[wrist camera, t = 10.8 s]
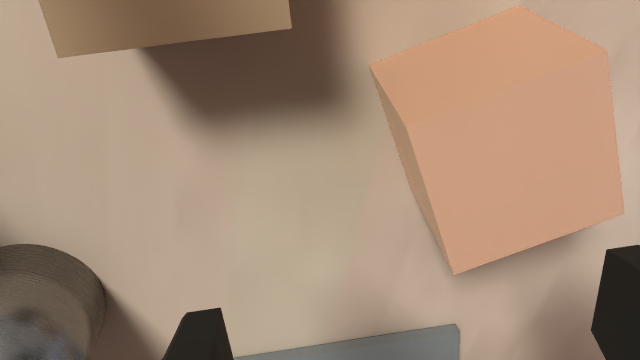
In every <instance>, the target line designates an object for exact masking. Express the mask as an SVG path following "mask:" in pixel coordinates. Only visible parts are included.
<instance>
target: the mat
mask: <svg viewBox="0 0 640 360" xmlns="http://www.w3.org/2000/svg"><path fill="white" fill-rule="evenodd" d="M458 351H459V331H458V329H457V327H456V324H451V325H445V326H439V327H432V328H426V329H419V330H413V331H406V332H400V333H393V334H387V335H380V336H374V337H367V338H361V339H354V340H348V341H342V342H335V343H329V344H322V345H316V346H309V347H303V348H296V349H290V350H283V351H277V352H270V353H264V354H257V355H251V356H245V357H238V358H233V359H234V360H458Z"/></svg>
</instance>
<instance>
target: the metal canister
mask: <svg viewBox="0 0 640 360" xmlns="http://www.w3.org/2000/svg"><path fill="white" fill-rule="evenodd" d="M105 312H106V296H105V292H104V289H103V287H102V285H101V283H100V281H99V279H98V278H97V277H96V275H95V274H94V273H93V272H92V271H91V270H90V269H89V268H88V267H87V266H86V265H85V264H84V263H82V262H81V261H80V260H78V259H76V258H75V257H73V256H71V255H69V254H67V253H65V252H62V251H60V250H57V249H54V248H50V247H46V246H41V245H32V244H17V245H9V246H4V247H0V360H90V357H91V354H92V351H93V349H94V346H95V343H96V340H97V337H98V334H99V331H100V328H101V325H102V322H103V319H104V316H105Z"/></svg>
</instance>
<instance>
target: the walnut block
mask: <svg viewBox="0 0 640 360" xmlns="http://www.w3.org/2000/svg"><path fill="white" fill-rule="evenodd" d="M39 3H40V6H41V9H42V12H43V15H44V18H45V21H46V24H47V27H48V30H49V33H50V36H51V39H52V42H53V45H54V48H55V51H56V54H57V57H58V58H63V57H70V56H78V55H86V54H94V53H102V52H110V51H118V50H126V49H134V48H142V47H149V46H157V45H165V44H173V43H181V42H189V41H197V40H205V39H213V38H221V37H228V36H236V35H244V34H252V33H260V32H268V31H276V30H284V29H292V25H291V17H290V9H289V1H288V0H39Z"/></svg>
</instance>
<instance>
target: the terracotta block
mask: <svg viewBox="0 0 640 360" xmlns="http://www.w3.org/2000/svg"><path fill="white" fill-rule="evenodd" d="M369 67H370V70H371V73H372V76H373V79H374V82H375V85H376V88H377V91H378V94H379V97H380V100H381V103H382V106H383V109H384V112H385V115H386V118H387V121H388V123H389V126H390V129H391V132H392V135H393V138H394V141H395V144H396V147H397V150H398V153H399V156H400V159H401V162H402V165H403V168H404V171H405V174H406V176H407V179H408V182H409V185H410V188H411V191H412V193H413V195H414V197H415V199H416V201H417V203H418V205H419V207H420V209H421V211H422V213H423V215H424V217H425V219H426V221H427V223H428V225H429V227H430V229H431V231H432V233H433V235H434V237H435V239H436V241H437V243H438V245H439V247H440V249H441V251H442V253H443V255H444V257H445V259H446V261H447V263H448V265H449V267H450V269H451V270H452V272H453V274H454V275H456V274H458V273H461V272H464V271H467V270H470V269H472V268H475V267H478V266H481V265H483V264H486V263H489V262H492V261H495V260H497V259H500V258H503V257H506V256H509V255H511V254H514V253H517V252H520V251H522V250H525V249H528V248H531V247H534V246H536V245H539V244H542V243H545V242H547V241H550V240H553V239H556V238H559V237H561V236H564V235H567V234H570V233H572V232H575V231H578V230H581V229H584V228H586V227H589V226H592V225H595V224H598V223H600V222H603V221H606V220H609V219H611V218H614V217H617V216H620V215H623V214H624V205H623V196H622V186H621V177H620V168H619V158H618V149H617V139H616V130H615V121H614V111H613V102H612V93H611V83H610V74H609V65H608V55H607V50H606V49H604V48H602V47H600V46H598V45H596V44H594V43H592V42H590V41H588V40H586V39H585V38H583V37H581V36H579V35H577V34H575V33H573V32H571V31H569V30H567V29H565V28H563V27H561V26H559V25H557V24H555V23H553V22H551V21H549V20H547V19H546V18H544V17H542V16H540V15H538V14H536V13H534V12H532V11H530V10H528V9H526V8H524V7H522V6H520V5H519V6H516V7H514V8H511V9H509V10H506V11H504V12H501V13H499V14H496V15H493V16H491V17H488V18H486V19H483V20H481V21H478V22H476V23H473V24H471V25H468V26H466V27H463V28H461V29H458V30H456V31H453V32H451V33H448V34H446V35H443V36H441V37H438V38H435V39H433V40H430V41H428V42H425V43H423V44H420V45H418V46H415V47H413V48H410V49H408V50H405V51H403V52H400V53H398V54H395V55H393V56H390V57H388V58H385V59H382V60H380V61H377V62H375V63H372V64H370V65H369Z"/></svg>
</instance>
